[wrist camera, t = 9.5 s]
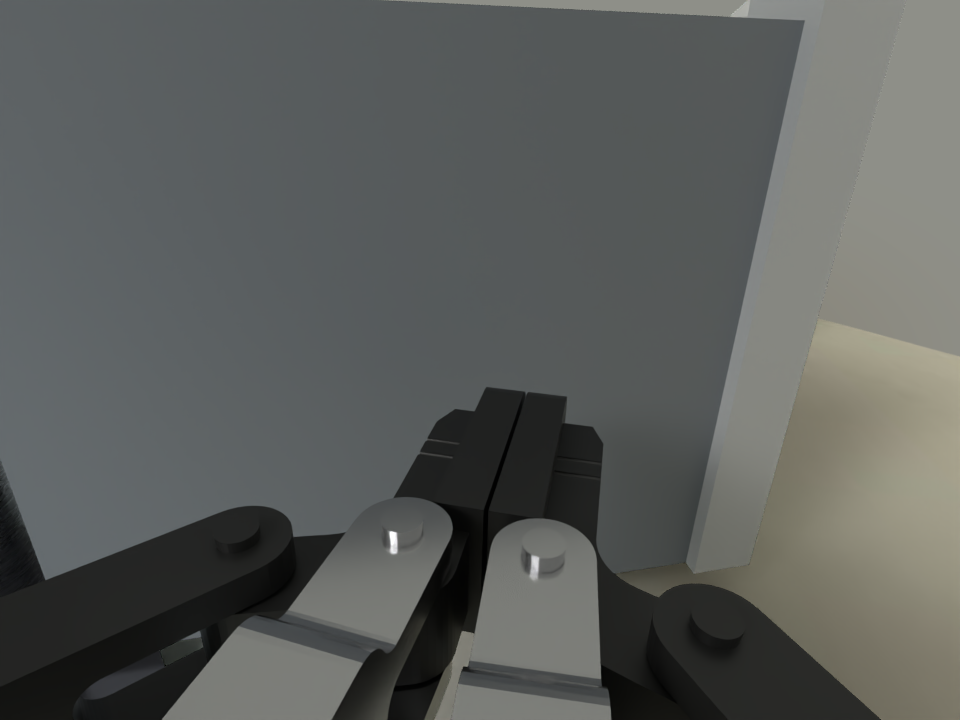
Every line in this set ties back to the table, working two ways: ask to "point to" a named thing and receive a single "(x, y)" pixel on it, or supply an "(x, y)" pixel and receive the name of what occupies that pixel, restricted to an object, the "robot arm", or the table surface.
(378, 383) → the gate
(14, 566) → the gate post
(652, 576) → the table surface
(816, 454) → the table surface
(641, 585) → the table surface
